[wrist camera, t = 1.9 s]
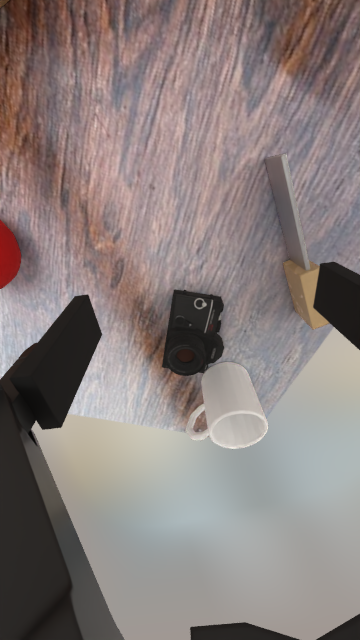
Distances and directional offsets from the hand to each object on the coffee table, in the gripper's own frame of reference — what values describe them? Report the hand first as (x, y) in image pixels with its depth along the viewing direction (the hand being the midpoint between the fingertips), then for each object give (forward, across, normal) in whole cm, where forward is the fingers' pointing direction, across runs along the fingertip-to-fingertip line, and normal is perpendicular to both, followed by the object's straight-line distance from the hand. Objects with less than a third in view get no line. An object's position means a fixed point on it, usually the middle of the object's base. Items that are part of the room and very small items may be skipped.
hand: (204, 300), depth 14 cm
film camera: (+18, -1, -13) cm, 23 cm away
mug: (+18, +2, -25) cm, 31 cm away
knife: (+18, +12, -3) cm, 22 cm away
